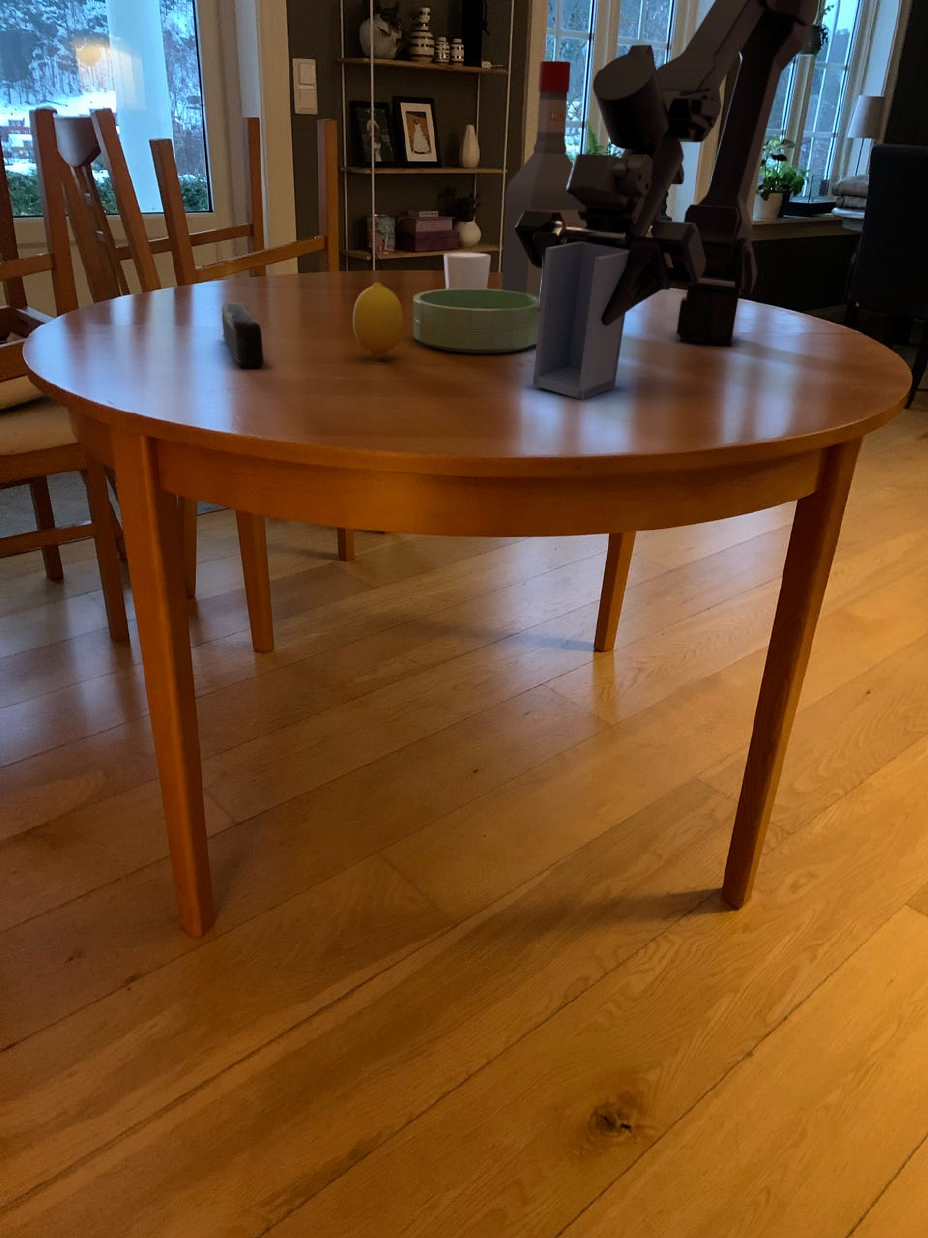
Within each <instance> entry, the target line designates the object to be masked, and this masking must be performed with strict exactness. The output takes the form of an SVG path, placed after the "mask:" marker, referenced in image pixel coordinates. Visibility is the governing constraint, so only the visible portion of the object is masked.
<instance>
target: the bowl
mask: <svg viewBox="0 0 928 1238" xmlns="http://www.w3.org/2000/svg"><path fill="white" fill-rule="evenodd" d="M412 297H413V299H412V301H413V304H412V307H413V310H412V311H413V313H412V315H413V320H412V321H413V324H412V326H413V329H412V330H413V332H412V333H413V334H412V335H413V338H415V339H416V340H418V341H419V342H422V343H424V344H425V345H426V346H429V347H432V348H435V349H437V350H438V349H439V350H443V351H449V352H456V353H465V354H466V353H467V354H501V353H511V352H517V351H522V350H525V349H527V348H529V347H530V346H534V345H537V337H538V327H539V317H540V312H539V309H538V307H539V299H540V297H537V296H535V295H532V294H527V293H523V292H516V291H508V290H502V289H499V288H498V289H497V288H487V289H483V288H454V289H446V288H441V289H432V290H431V289H430V290H426V291H422V292H419V293H417V294H414V295H413V296H412Z"/></svg>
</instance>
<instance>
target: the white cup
mask: <svg viewBox="0 0 928 1238" xmlns="http://www.w3.org/2000/svg"><path fill="white" fill-rule="evenodd" d="M491 257H492V256H491V254H487V253H485V252H484V253H483V252H478V251H477V252H475V251H452V252H446V253H443V265H444V279H445V289H454V288H483V289H488V283H489V275H490V267H491V259H492V258H491Z"/></svg>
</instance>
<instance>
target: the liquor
mask: <svg viewBox="0 0 928 1238" xmlns="http://www.w3.org/2000/svg"><path fill="white" fill-rule="evenodd" d="M571 64H572V63H571V62H570V61H563V60H562V61H560V60H543V61H539V73H538V74H539V75H538V76H539V77H538V90H537V91H538V92H539V97H538V99H539V100H538V115H537V128H536V129H537V131H536V141H535V143H534V146H533V153H532V155H531V156H530V157H529V158H528V159H527V160H526V162H524V164H523V165H522V166H521V168H520V169H519V170H518V171H517V172H516V174H515V175H514V176H513V177H512V178H511V180H510V181H509V183H508V186H507V188H506V191H505V203H504V204H505V205H504V206H505V207H504V229H503V231H504V232H503V251H502V252H503V256H502V280H501V290H508V291H516V292H523V293H527V294H532V295H535V296H537V297H540V290H541V281H542V271H543V268H537V267H536V266H534V265H533V264H532V263H531V261H530V259H529V257H528V255H527V253H526V251H525V249H524V247H523V245H522V243H521V241H520V239H519V237H518V235H517V233H516V231H515V227H516V225H517V223H518V221H519V219H520V217H521V216H522V214H523V213H524V211H525V210H540V211H552V212H560V213H561V215H562V218H563V220H564V222H565V225H566V226H567V227H576V228H585V226H586V221H585V220H581V219H580V217H579V214H578V212H577V211H578V209H579V207H580V205H581V203H580V202H579V201H578V200H577V199H576V198H575V197H574V196H573V195H572V194H568V193H567V191H566V189H567V185H568V181H569V178H570V174H571V171H572V167H573V164H574V162H572V160H571V159H570V157H569V156H568V155H567V145H566V125H567V124H566V123H567V108H568V107H567V106H568V93H570V80H571V79H570V78H571Z"/></svg>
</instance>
